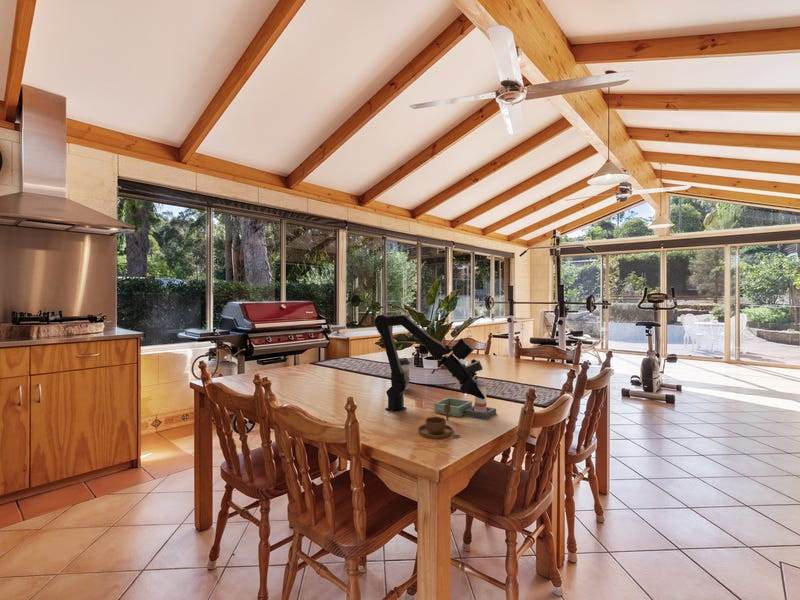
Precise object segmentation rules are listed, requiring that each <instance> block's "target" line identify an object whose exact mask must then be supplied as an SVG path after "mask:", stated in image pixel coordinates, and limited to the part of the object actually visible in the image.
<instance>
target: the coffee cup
mask: <svg viewBox="0 0 800 600" xmlns="http://www.w3.org/2000/svg"><path fill="white" fill-rule="evenodd" d="M399 361H400V364H401V368H402V369H403V371H407V372H408V377H409V378H410V370H411V369H410V365H411V363H410V360H408V358H407V357H399ZM408 389H409V386H408V387H407V388H406V389H405V390H404V391H407V390H408Z"/></svg>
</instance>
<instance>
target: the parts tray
mask: <svg viewBox="0 0 800 600" xmlns="http://www.w3.org/2000/svg"><path fill="white" fill-rule="evenodd" d="M444 405H450V406H451V410H450V413H448V416H454V417H457V418H458V417H461V416H463V415H465V410H466V409H468V408H470V407H472V406H473V401H471V400H466V399H460V398H454V397H445V398H443V399H441V400H439V401H437V402H434V405H433V407H434V411H433V412H434V413H439V414H443V415H446V414H447V413H445V412H444Z"/></svg>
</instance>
